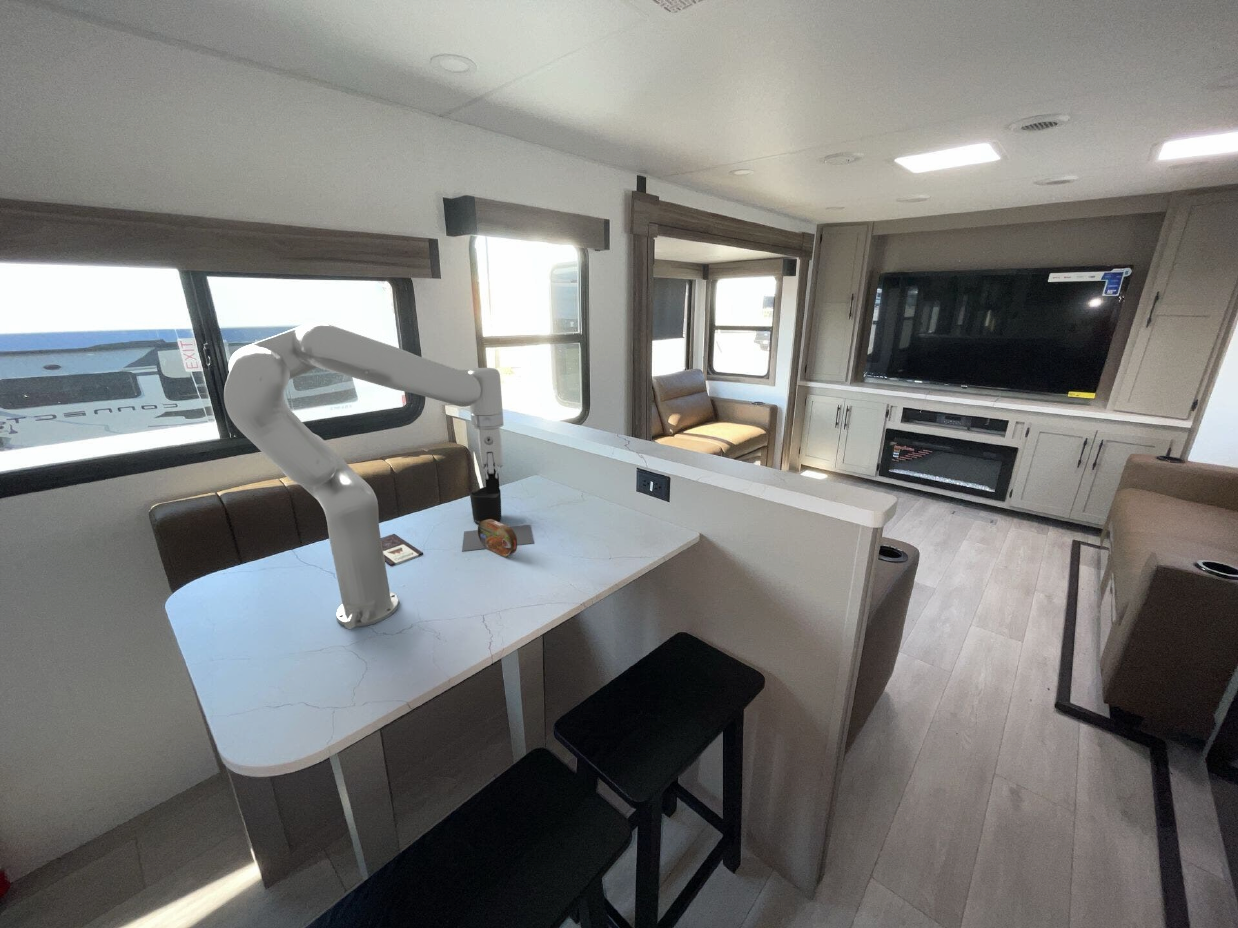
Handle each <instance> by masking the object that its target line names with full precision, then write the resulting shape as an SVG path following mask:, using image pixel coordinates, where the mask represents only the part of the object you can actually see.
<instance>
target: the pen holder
mask: <svg viewBox="0 0 1238 928" xmlns="http://www.w3.org/2000/svg"><path fill="white" fill-rule="evenodd" d="M501 493H502V492H501V490H500V493H498V494H487V492H486V486H483V487H481V488H478V489H477V490H475V491H470V492H469V497H470V506H471V512H472V519H473V522H474V525H475V524H476V525H477V526H478V525H479V523H480V522H481V521H485V520H488V519H493V520H495V521H497V522H500V521H502V498H501V496H502V494H501Z"/></svg>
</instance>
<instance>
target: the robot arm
mask: <svg viewBox="0 0 1238 928" xmlns="http://www.w3.org/2000/svg"><path fill="white" fill-rule="evenodd" d="M316 369H321V370H325V371H328V372H332V373H336V374H339V375H343V376H346V377H349V378H353V379H356V380H361V381H364V382H367V383H371V384H374V385H378V386H381V387H385V388H389V389H391V390H395V391H401V392H407V393H410V394H414V395H419V396H422V397H426V398H429V399H432V400H434V401H435V400H437V401H440V402H443V403H446V404H450V405H453V406H457V407H462V408H464V407H469V411H470V422H471V428H472V429H476V431H477V441H478V449H479V455H480V456H479V457H480V463H481V466H482V468H483V469H485V487H486V492H487V494H498V493H500V491H501V489H500V478H499V477H500V476H499V475H500V474H499V472H498V468H503V466H504V464H503V451H502V450H503V449H502V447H503V446H502V437H501V436H502V435H501V429H500V428H502V427H503V426H505V425H504V412H503V400H502V399H503V398H502V384H501V374H500V371H499V370H498V369H496V368H494V367H476V368H475V367H474V368H471V369H457V368H454V367H452V366H449V365H445V364H443V363H440V362H436V361H433V360H430V359H427V358H426V357H421V356H420V355H416V354H414V353H412V352H409V351H407V350H404V349H402V348H399V347H397V346H393V345H391V344H388V343H385V342H381V341H378V340H375V339H373V338H370V337H367V336H364V335H362V334H358V333H355V332H352V331H350V330H346V329H343V328H340V327H337V326H334V325H332V324H327V323H322V322H321V323H320V322H310V323H305V324H302V325H300V326H297V327H295V328H292V329H289V330H287V331H284V332H282V333H278V334H277V335H273V336H271V337H267V338H266V339H261V340H260V341H256V342H253V343H251V344H248V345H245V346H243V347H241V348H239V349H237V350H236V351H235V352H234V353H233V354H232V355H231V357H230V359H229V362H228V371H229V373H228V375H227V378H226V381H225V385H224V389H223V402H224V406H225V409H226V412H227V414H228V417H229V418H230V420H231V422H232V423H233V424H234V426H235V427H236V429H237V430H239V431H240V432H241V434H243V435H244V437H246V439H248V440H249V441H250V442H251V443H252V444H253V445H254V446H256V448H257V449H258V450H259V451H260V452H261V453H262V454H263V455H264V456H265V457H266V458H268V459H269V460H270V461H271V462H272V463H273V464H274V465H275V466H276V467H278V468H279V469H280V471H281V472H282V473H283V475H285V477H287V478H288V479H289V480H291V481H292V482H293V483H296V484H297V485H300V486H301V487H302V488H304V490H306V492H308V493H309V494H310V495H311V496H312V497H313V498H315V499H316V500H317V502H318V503H319V504H320V506H321V507H322V509H323V512H324V515H325V517H326V518H325V519H326V522H327V523H326V524H327V532H328V538H329V539H328V540H329V545H330V549H331V554H332V557H333V563H334V567H335V572H336V578H337V583H338V588H339V593H340V598H341V603H342V604H341V605H340V606H339V607H338V608H337V610H336V613H335V617H336V621H337V622H338V624H340V625H343V626H344V627H345V628H346V629H348V630H352V629H354V628H357V627H365V626H370V625H374V624H376V623H379V622H381V621H383V620H386V619H388V618H389V617H390V616H392V615H393V614H394V613H395V611H396V610H397V609H398V608H399V605H400V600H399V596H398V595H397V594H396V593H394V592H392V591H390V585H389V578H388V572H387V568H386V562H385V560H384V554H383V547H382V542H381V538H382V537H381V531H380V530H381V529H380V519H379V504H378V498H377V496H376V493H375V492H374V489H373V488H372V487H371V486H370V484H368V482H366V480H365V479H364V478H362V476H360V475H359V474H358V473H357V472H356V471H355V470H354V469H353V468H351V467H350V465H349V464H348V463H347V462H346V461H345V460H344V459H343V458H342V457H341V456H340V455H339V454H338V453H337V452H335V450H334V449H333V448H332V447H331V446H330V445H329V444H328V443H327V442H326V441H325V440H324V439H323V438H322V437H321V436H320V435H318V434H315V433H313V431H311V430H310V429H309V428H308V427H307V426H306V425H305V423H303V422H302V420H301V419H300V418H299V417H298V416H297V415H296V414H295V413H294V412H293V411H292V410H291V409H290V408H289V406H288V405H287V403H286V400H285V396H284V395H285V391H286V389H287V386H288V385H289V381H291V380H293V379H295V378H298V377H299V376H302V375H304V374H307V373H309V372H311V371H314V370H316Z"/></svg>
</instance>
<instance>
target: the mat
mask: <svg viewBox="0 0 1238 928" xmlns="http://www.w3.org/2000/svg"><path fill="white" fill-rule="evenodd" d="M509 527H510V528H511V529H512V530H513V531H514V532H515V534H516V537H517V546H523V545H532V543H535V542H534V538H533V532H532V526H531V524H525V525H524V524H523V525H513V526H509ZM462 538H463V539H462V549H461V552H469V551H471V552H472V551H477V550H478V551H479V550H488V549H487V548H485V547H484V546H483V545H482V543H481V541H480V539H479V536H478V529H475V530H465V531H463V537H462Z"/></svg>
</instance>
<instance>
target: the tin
mask: <svg viewBox="0 0 1238 928" xmlns="http://www.w3.org/2000/svg"><path fill="white" fill-rule="evenodd" d="M510 527H511V526H509V525H506V524H504V523H502V522H500V521H499V522H497V521H495V520H493V519H488V520H485V521H481V522H480V523H479V525H477V530H478V536H479V539H480V541H481V543H482V545H483V546H484V547H485V548H487V549H486V550H489V551H491V552H494V553H495V554H496V555H499V556H501V557H504V558H506V557H508V556H511V555H513V554H514V553H515V552H517V549H518V545H517V537H516V534H515V532H514V531H513V530H512V529H511V528H510Z"/></svg>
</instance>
